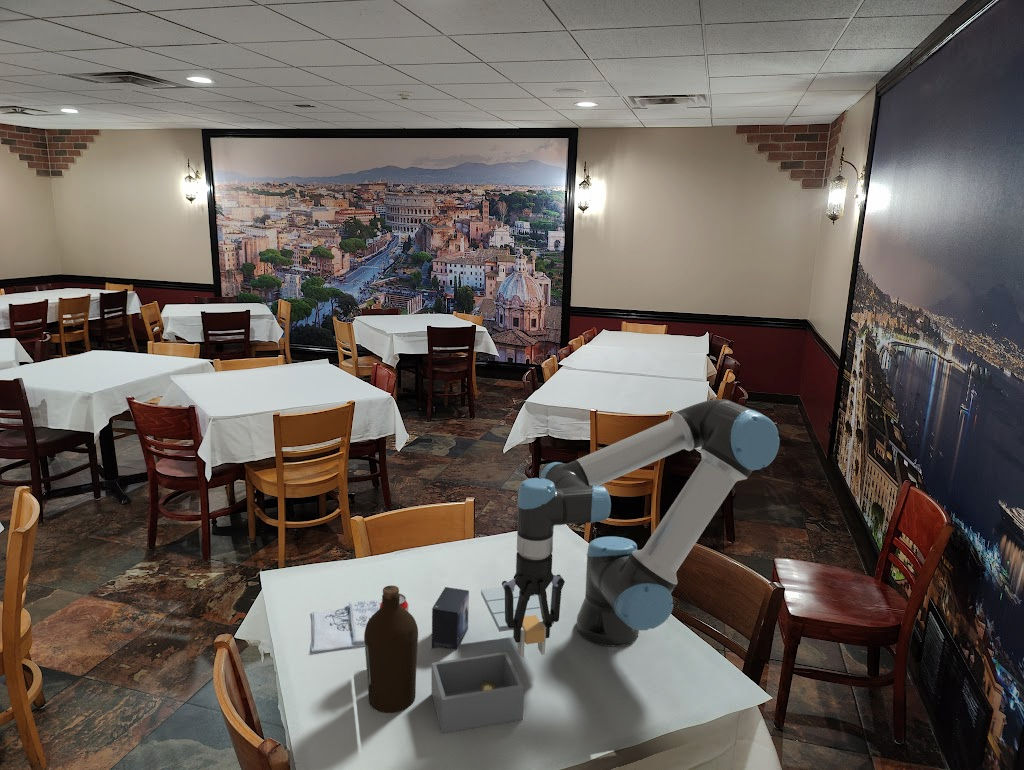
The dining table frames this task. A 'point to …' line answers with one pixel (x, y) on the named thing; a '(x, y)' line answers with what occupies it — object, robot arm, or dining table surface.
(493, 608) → the lid
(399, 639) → the brown tall rounded piece
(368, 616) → the white printed cloths
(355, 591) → the dining table surface
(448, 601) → the small box
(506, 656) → the tub
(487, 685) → the part
